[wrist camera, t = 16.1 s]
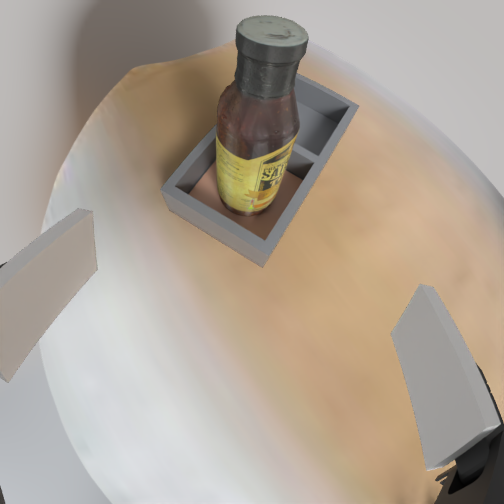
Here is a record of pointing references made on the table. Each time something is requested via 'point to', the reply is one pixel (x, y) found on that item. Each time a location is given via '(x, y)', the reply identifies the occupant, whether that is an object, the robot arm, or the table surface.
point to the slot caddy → (291, 187)
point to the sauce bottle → (259, 114)
